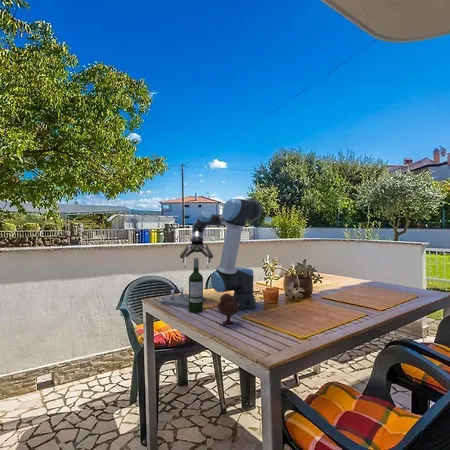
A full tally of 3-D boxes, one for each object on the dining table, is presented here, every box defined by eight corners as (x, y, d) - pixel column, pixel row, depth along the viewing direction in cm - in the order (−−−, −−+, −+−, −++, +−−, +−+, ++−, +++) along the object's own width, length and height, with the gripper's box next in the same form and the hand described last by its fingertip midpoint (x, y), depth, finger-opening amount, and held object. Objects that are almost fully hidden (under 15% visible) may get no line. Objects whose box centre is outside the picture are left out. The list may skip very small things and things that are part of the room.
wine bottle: (191, 313, 159) (191, 258, 159) (187, 309, 166) (187, 257, 166) (204, 312, 162) (205, 258, 162) (200, 308, 169) (200, 257, 170)
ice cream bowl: (237, 328, 136) (238, 296, 136) (214, 326, 138) (215, 295, 138) (241, 321, 146) (241, 291, 147) (219, 319, 149) (219, 290, 149)
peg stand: (205, 300, 188) (205, 288, 188) (188, 308, 170) (188, 294, 170) (180, 297, 196) (180, 285, 197) (161, 303, 179) (161, 290, 179)
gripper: (216, 244, 192) (216, 270, 177) (178, 244, 191) (175, 270, 176) (216, 236, 187) (217, 262, 172) (177, 236, 186) (174, 262, 171)
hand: (196, 266), depth 174 cm, fingers open, 13 cm apart
